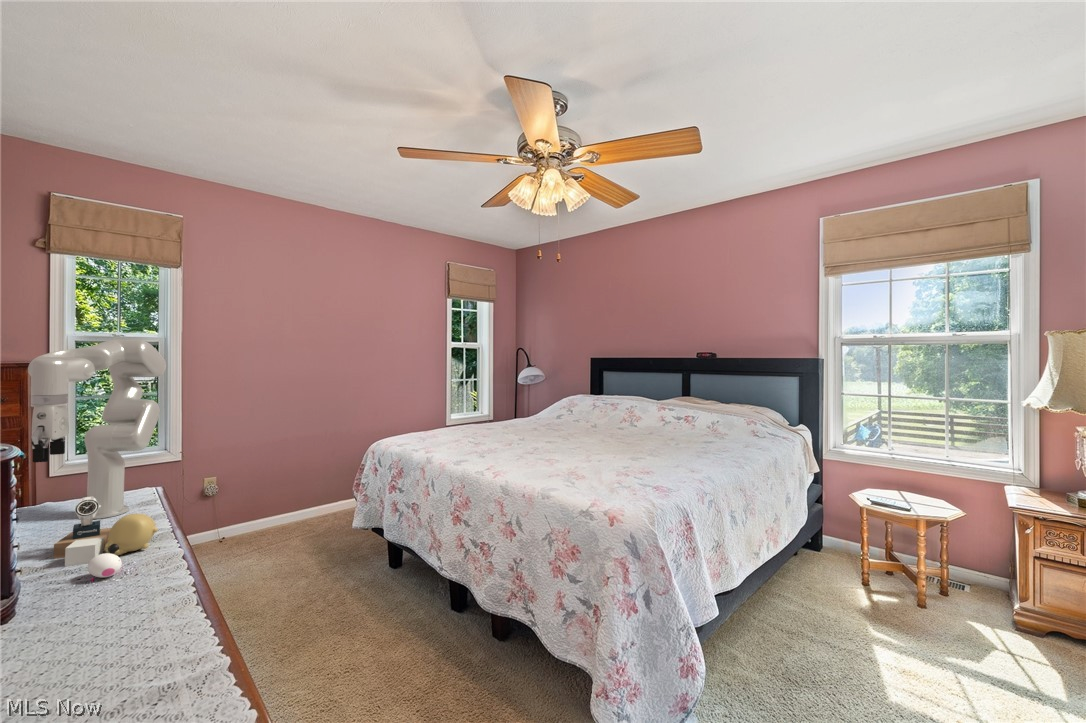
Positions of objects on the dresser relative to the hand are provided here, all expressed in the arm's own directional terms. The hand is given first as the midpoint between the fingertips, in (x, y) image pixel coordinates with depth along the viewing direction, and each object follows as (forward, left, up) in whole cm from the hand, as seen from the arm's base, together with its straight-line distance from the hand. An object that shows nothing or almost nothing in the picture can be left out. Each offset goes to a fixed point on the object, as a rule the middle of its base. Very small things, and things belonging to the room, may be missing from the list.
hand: (49, 457), depth 135 cm
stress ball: (+30, +24, -26) cm, 46 cm away
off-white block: (+17, +15, -26) cm, 34 cm away
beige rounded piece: (+13, +23, -26) cm, 38 cm away
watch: (+8, +12, -22) cm, 26 cm away
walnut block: (+8, +12, -26) cm, 29 cm away
